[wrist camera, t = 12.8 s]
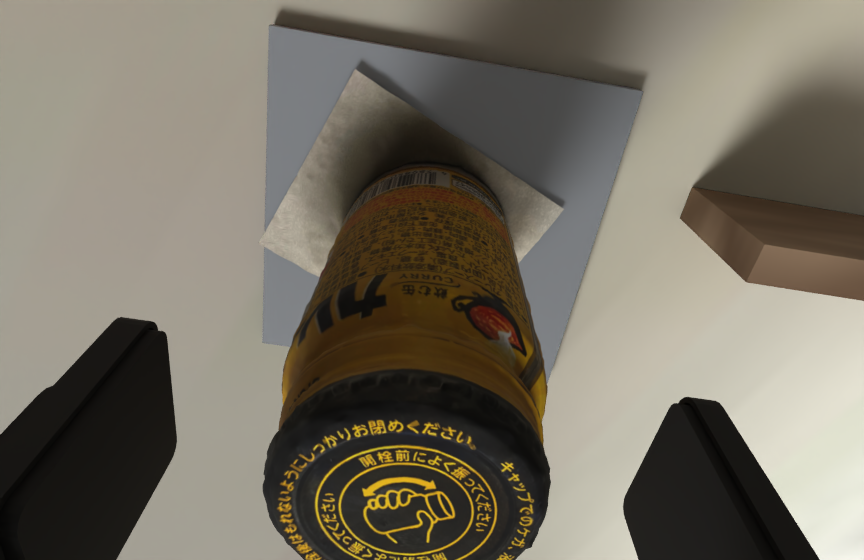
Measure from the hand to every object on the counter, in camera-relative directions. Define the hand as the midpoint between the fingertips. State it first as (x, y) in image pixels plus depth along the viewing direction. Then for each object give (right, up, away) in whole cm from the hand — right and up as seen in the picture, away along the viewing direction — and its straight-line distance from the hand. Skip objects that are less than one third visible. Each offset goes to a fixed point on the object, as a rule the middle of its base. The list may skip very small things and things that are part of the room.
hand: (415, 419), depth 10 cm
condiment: (-1, +5, +10) cm, 11 cm away
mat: (0, +5, +10) cm, 11 cm away
